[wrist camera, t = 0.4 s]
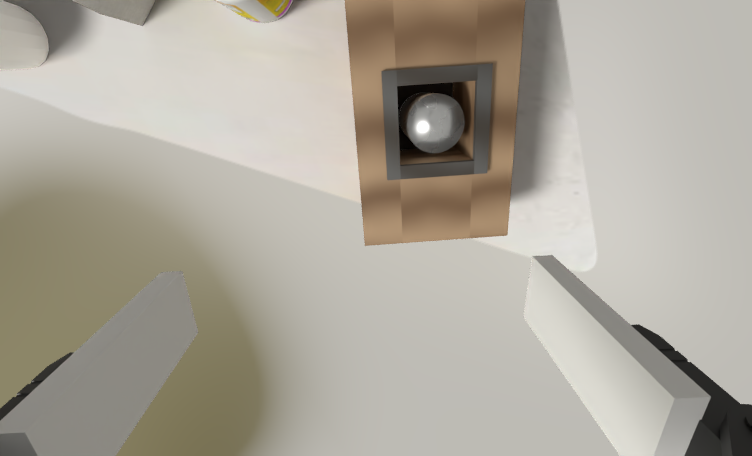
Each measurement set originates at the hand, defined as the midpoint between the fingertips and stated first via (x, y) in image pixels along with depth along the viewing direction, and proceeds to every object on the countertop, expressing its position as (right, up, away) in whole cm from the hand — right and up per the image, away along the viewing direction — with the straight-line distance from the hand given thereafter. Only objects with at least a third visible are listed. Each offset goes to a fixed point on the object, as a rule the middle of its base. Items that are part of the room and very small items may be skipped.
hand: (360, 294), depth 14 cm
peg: (+6, +14, +25) cm, 29 cm away
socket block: (+6, +14, +25) cm, 29 cm away
